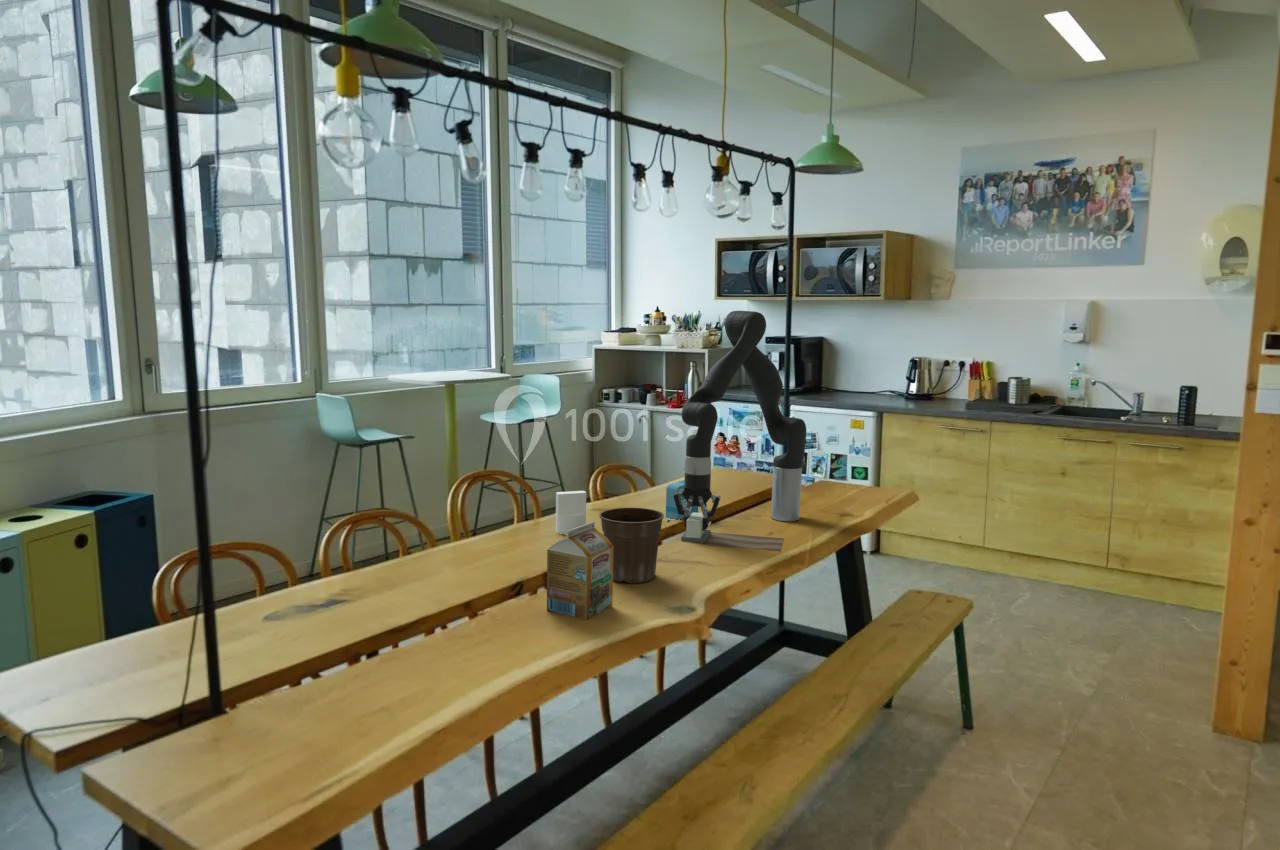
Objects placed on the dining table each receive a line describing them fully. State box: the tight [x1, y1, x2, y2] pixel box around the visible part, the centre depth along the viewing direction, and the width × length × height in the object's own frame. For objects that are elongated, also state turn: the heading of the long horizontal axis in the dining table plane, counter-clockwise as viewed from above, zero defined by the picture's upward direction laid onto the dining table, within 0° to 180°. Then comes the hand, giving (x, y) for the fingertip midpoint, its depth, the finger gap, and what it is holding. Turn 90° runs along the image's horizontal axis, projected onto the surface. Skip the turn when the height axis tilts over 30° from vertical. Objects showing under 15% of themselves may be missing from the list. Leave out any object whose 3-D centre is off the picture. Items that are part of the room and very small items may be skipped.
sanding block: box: [680, 512, 712, 544], centre depth 250 cm, size 10×7×6 cm
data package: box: [665, 480, 699, 520], centre depth 277 cm, size 12×4×12 cm, turn 141°
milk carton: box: [546, 521, 614, 621], centre depth 192 cm, size 10×11×19 cm
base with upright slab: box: [555, 490, 587, 534], centre depth 259 cm, size 9×9×12 cm
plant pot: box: [598, 507, 665, 584], centre depth 216 cm, size 16×16×16 cm
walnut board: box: [701, 531, 785, 552], centre depth 247 cm, size 14×22×2 cm, turn 76°
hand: (696, 529), depth 250 cm, fingers closed on sanding block, 4 cm apart
